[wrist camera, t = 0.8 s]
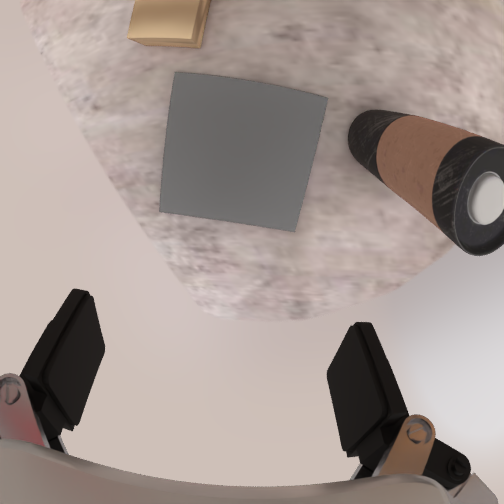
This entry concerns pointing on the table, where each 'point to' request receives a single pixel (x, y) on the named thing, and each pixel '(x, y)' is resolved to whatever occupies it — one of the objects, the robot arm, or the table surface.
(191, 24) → the oak block
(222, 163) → the charcoal mat
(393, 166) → the travel mug
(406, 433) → the robot arm
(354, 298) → the table surface
